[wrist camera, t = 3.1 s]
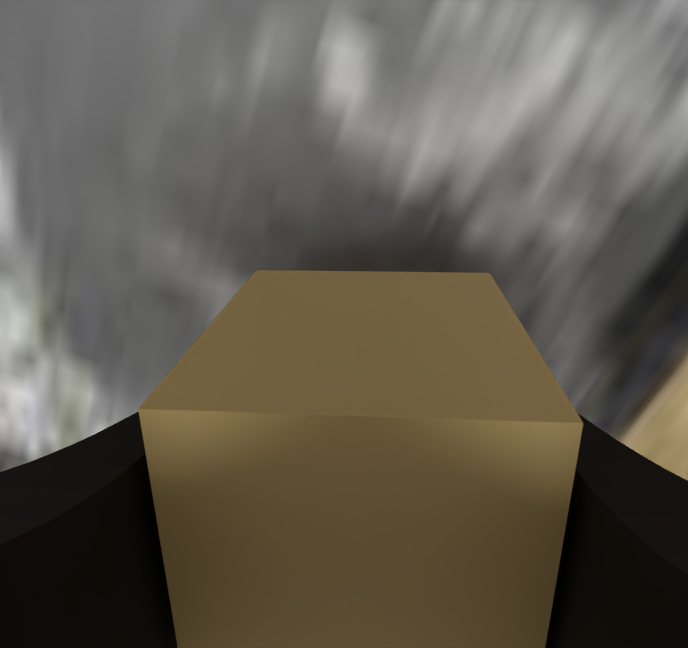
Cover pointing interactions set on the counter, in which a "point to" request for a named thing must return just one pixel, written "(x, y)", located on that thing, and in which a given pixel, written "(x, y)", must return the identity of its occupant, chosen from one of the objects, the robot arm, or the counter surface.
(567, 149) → the counter surface
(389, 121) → the counter surface
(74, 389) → the counter surface
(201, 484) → the block
